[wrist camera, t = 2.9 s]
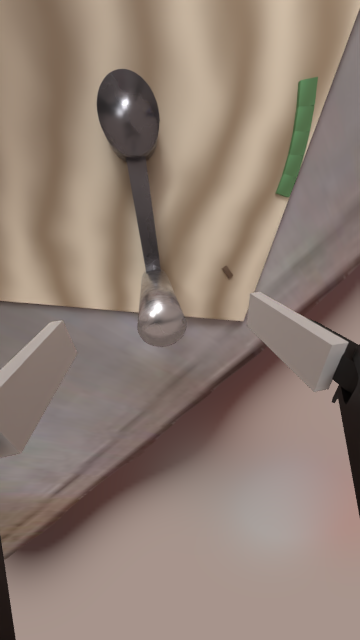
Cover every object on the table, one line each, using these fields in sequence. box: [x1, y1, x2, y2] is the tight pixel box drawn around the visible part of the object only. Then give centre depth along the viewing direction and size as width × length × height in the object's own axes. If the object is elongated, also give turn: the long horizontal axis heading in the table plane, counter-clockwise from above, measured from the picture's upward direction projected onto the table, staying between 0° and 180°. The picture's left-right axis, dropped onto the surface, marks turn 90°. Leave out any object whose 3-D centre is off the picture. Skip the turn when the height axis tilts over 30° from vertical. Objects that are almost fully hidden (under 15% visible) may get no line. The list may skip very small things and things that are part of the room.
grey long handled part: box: [97, 69, 186, 347], centre depth 13 cm, size 17×4×11 cm, turn 5°
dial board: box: [0, 0, 360, 321], centre depth 16 cm, size 34×34×2 cm
